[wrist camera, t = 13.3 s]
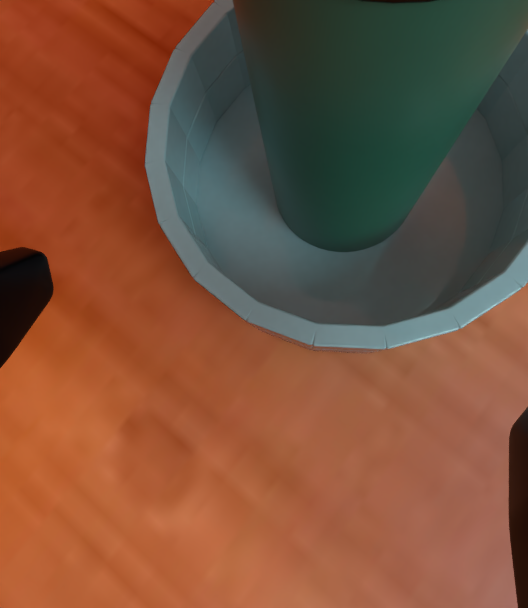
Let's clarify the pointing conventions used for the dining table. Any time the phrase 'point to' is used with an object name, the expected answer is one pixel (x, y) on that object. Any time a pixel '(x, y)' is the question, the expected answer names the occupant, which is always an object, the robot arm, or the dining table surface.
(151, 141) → the round gray dish
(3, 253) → the robot arm
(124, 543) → the dining table surface
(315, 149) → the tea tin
